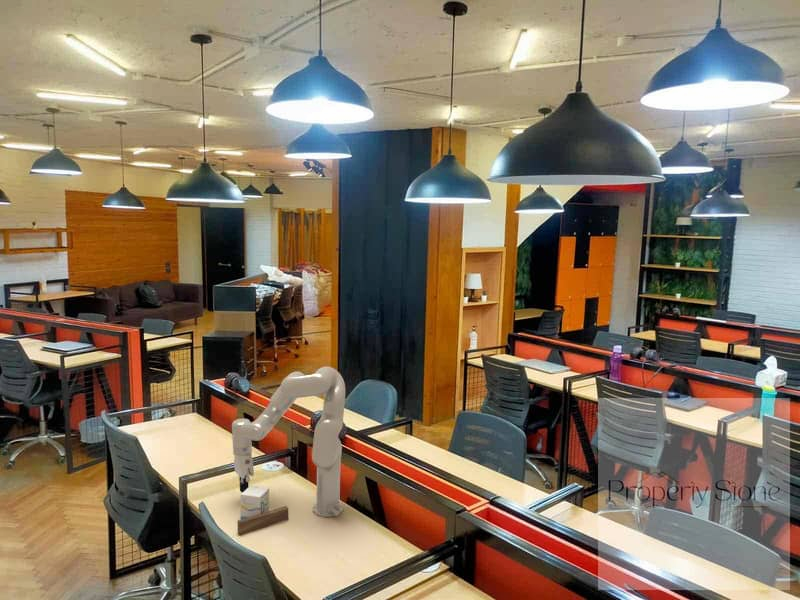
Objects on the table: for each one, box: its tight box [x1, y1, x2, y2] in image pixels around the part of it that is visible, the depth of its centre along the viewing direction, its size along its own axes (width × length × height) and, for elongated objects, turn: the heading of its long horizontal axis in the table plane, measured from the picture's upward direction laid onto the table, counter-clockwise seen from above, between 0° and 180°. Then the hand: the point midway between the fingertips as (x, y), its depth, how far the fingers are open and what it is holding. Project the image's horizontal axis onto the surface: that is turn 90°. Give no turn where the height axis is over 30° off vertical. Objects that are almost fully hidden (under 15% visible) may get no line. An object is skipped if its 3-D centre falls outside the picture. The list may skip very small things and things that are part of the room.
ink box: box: [239, 485, 270, 520], centre depth 217 cm, size 8×8×12 cm
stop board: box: [237, 505, 289, 536], centre depth 211 cm, size 2×20×5 cm, turn 128°
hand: (244, 491), depth 228 cm, fingers closed
